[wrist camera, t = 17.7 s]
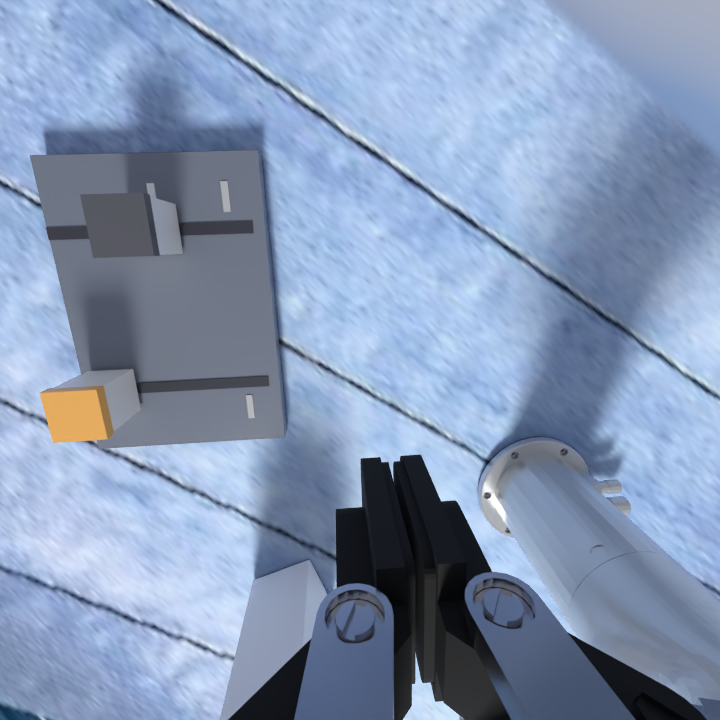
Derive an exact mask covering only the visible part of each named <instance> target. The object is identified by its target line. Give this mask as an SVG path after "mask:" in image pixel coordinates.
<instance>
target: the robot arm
mask: <svg viewBox="0 0 720 720" xmlns="http://www.w3.org/2000/svg"><path fill="white" fill-rule="evenodd" d="M393 476H394V482H393V478H392V475H391V471H390V467H389V463H388V462H382V463H381V459H380V457H378V458H363V459H361V484H362V507H359V508H345V509H336V567H337V588H336V589H335V590H333V591H332V592H330V593H329V594H327V596H326V597H325V598H324V599H323V601H322V602H321V603H320V606H319V609H318V611H317V614H316V619H315V624H314V628H313V633H312V638H311V639H310V640H309V641H308V642H307V643H306V644H305V645H304V646H303V647H302V648H301V649H300V650H299V651H298V652H297V653H296V654H295V655H294V656H293V657H292V658H291V659H290V660H289V661H288V662H286V663H285V664H284V665H283V666H282V667H281V668H280V669H279V670H278V671H277V672H276V673H275V674H274V675H273V676H272V677H271V678H270V679H269V680H268V681H267V682H266V683H265V684H264V685H263V686H262V687H261V688H260V689H259V690H258V691H257V692H256V693H255V694H254V695H253V696H252V697H251V698H250V699H249V700H248V701H247V702H246V703H245V704H244V705H242V706H241V707H240V708H239V709H238V710H237V711H236V712H235V713H234V714H233V715H232V716H231V717H230V718H229V719H228V720H403V718H404V717H405V715H406V714H407V712H408V710H409V709H410V707H411V706H412V684H415V652H416V657H417V661H418V666H419V671H420V676H421V680H422V682H423V683H428V682H431V685H432V690H433V694H434V698H435V702H436V701H444V703H445V704H446V705H448V706H449V707H450V708H451V709H453V710H454V711H455V712H456V713H458V714H459V715H460V720H720V600H719V599H718V598H717V597H716V596H715V595H714V594H712V593H711V592H710V591H709V590H708V589H707V588H705V587H704V586H703V585H702V584H701V583H700V582H699V581H698V580H696V579H695V578H694V577H693V576H692V575H691V574H690V573H689V572H688V571H686V570H685V569H684V568H683V567H682V566H681V565H680V564H679V563H677V562H676V561H675V560H674V559H673V558H672V557H671V556H670V555H668V554H667V553H666V552H665V551H664V550H663V549H662V548H661V547H660V546H658V545H657V544H656V543H655V542H654V541H653V540H652V539H651V538H650V537H649V536H647V535H646V534H645V533H644V532H643V531H642V530H641V529H640V528H639V527H638V526H636V525H635V524H634V523H633V522H632V521H631V520H630V519H629V518H628V517H626V516H625V515H628V514H630V511H631V507H630V504H629V501H628V500H627V499H626V498H625V497H623V496H619V497H607V498H605V497H604V496H603V495H602V494H601V493H607V494H609V493H619V492H621V490H622V489H621V484H620V482H619V481H618V480H604V481H597V480H596V479H594V478H593V477H592V476H591V475H590V474H589V471H588V467H587V465H586V463H585V462H584V460H583V458H582V457H581V456H580V455H579V454H578V453H577V452H576V451H575V450H574V449H573V448H571V447H570V446H569V445H567V444H565V443H563V442H562V441H559V440H556V439H552V438H545V437H537V438H529V439H524V440H520V441H518V442H516V443H513V444H511V445H509V446H508V447H506V448H504V449H503V450H501V451H500V452H499V453H498V454H497V455H496V456H495V457H493V459H492V460H491V461H490V462H489V464H488V465H487V466H486V468H485V470H484V472H483V473H482V475H481V478H480V482H479V486H478V501H479V505H480V508H481V511H482V513H483V514H484V516H485V518H486V520H487V521H488V522H489V523H490V525H491V526H492V527H494V528H495V529H496V530H497V531H499V532H500V533H502V534H504V535H506V536H510V537H513V538H515V540H516V541H517V543H518V544H519V546H520V548H521V549H522V551H523V552H524V554H525V555H526V557H527V559H528V560H529V562H530V563H531V565H532V567H533V568H534V570H535V571H536V573H537V574H538V576H539V578H540V579H541V581H542V582H543V584H544V586H545V587H546V589H547V590H548V592H549V593H550V595H551V597H552V598H553V600H554V601H555V603H556V605H557V606H558V608H559V609H560V611H561V612H562V614H563V616H564V617H565V619H566V620H567V622H568V623H569V625H570V627H571V628H572V630H573V631H574V633H575V635H576V636H577V637H575V636H573V635H571V634H569V633H568V632H567V631H566V630H565V629H564V628H563V626H562V625H561V624H560V622H559V621H558V620H557V619H556V617H555V616H554V615H553V614H552V612H551V611H550V610H549V608H548V607H547V606H546V605H545V603H544V602H543V601H542V599H541V598H540V597H539V596H538V594H537V593H536V592H535V591H534V590H533V589H532V588H531V587H530V586H529V585H527V584H526V583H524V582H523V581H521V580H520V579H518V578H516V577H513V576H511V575H508V574H504V573H498V572H492V571H491V569H490V567H489V565H488V563H487V561H486V559H485V557H484V555H483V553H482V551H481V549H480V547H479V544H478V542H477V540H476V538H475V536H474V534H473V532H472V530H471V528H470V526H469V524H468V522H467V520H466V518H465V516H464V514H463V512H462V510H461V508H460V506H459V504H458V503H457V502H456V501H442V502H441V501H440V498H439V496H438V494H437V491H436V489H435V487H434V484H433V482H432V480H431V477H430V475H429V473H428V470H427V468H426V466H425V463H424V461H423V459H422V456H421V455H409V456H401V457H400V461H397V462H394V464H393Z"/></svg>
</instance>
